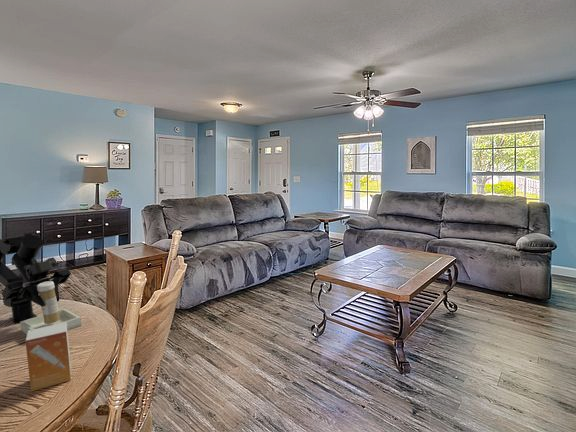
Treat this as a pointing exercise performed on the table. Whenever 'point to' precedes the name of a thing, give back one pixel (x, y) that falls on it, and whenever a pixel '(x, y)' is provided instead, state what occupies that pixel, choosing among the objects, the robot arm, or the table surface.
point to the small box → (48, 356)
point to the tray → (38, 322)
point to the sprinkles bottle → (49, 302)
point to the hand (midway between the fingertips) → (51, 303)
